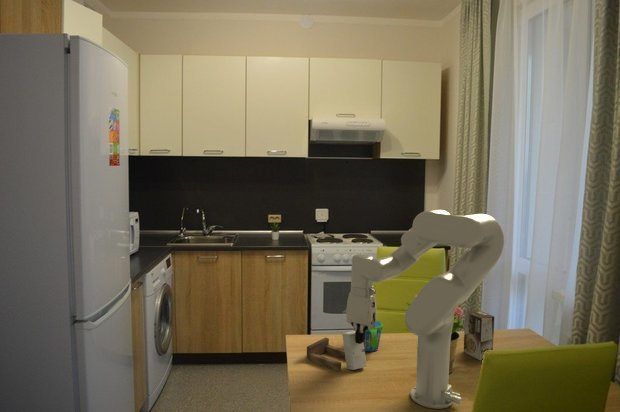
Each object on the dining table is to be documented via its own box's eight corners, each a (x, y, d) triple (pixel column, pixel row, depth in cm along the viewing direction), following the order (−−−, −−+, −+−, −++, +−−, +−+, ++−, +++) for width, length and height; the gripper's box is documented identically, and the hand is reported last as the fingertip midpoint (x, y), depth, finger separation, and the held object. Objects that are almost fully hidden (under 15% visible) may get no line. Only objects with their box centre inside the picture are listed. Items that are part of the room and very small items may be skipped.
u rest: (356, 360, 157) (356, 347, 157) (338, 371, 148) (338, 357, 148) (325, 349, 166) (325, 337, 165) (306, 359, 157) (306, 346, 156)
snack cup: (352, 340, 176) (353, 316, 175) (378, 340, 176) (378, 316, 175) (357, 356, 160) (358, 330, 159) (385, 357, 160) (386, 330, 160)
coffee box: (493, 358, 161) (495, 316, 159) (479, 361, 158) (481, 318, 157) (475, 349, 169) (477, 309, 168) (462, 351, 167) (464, 310, 165)
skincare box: (354, 370, 147) (349, 334, 148) (346, 368, 150) (341, 333, 152) (367, 366, 150) (362, 330, 152) (359, 364, 154) (354, 330, 155)
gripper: (386, 292, 146) (384, 344, 147) (349, 284, 155) (347, 333, 156) (375, 297, 140) (373, 351, 141) (337, 288, 149) (335, 339, 151)
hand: (359, 342), depth 149 cm, fingers closed
